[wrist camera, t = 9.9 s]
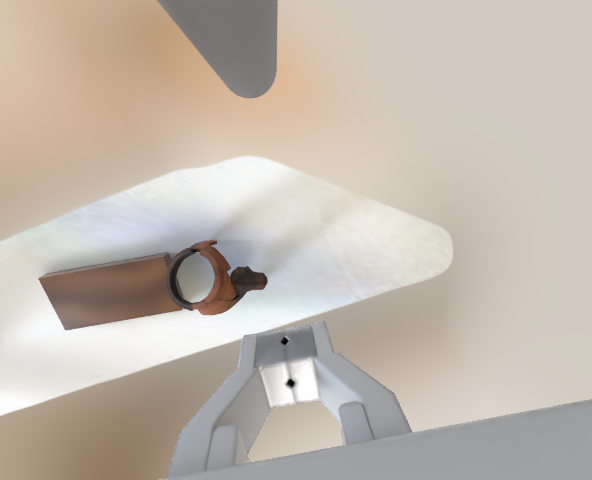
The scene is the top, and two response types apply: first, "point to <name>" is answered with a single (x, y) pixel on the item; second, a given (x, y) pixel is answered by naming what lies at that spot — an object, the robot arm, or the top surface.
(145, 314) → the cutting board
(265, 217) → the top surface
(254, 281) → the pottery mug
